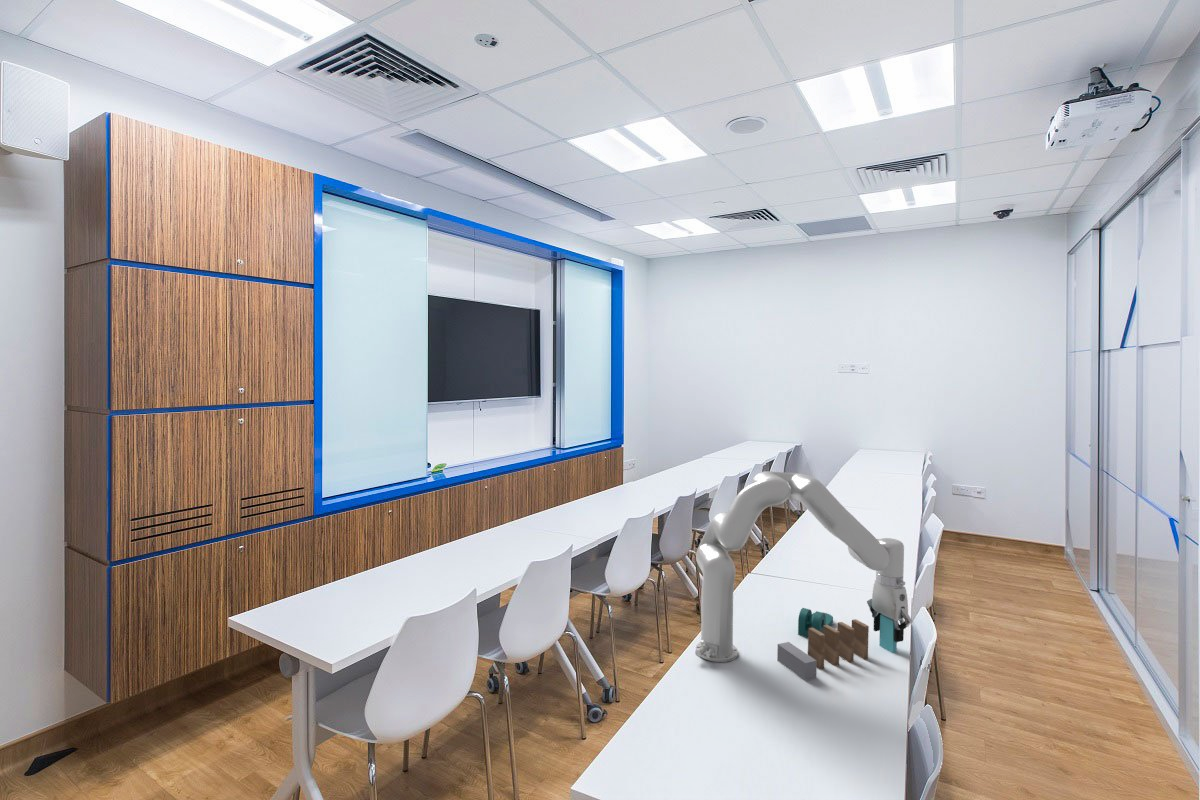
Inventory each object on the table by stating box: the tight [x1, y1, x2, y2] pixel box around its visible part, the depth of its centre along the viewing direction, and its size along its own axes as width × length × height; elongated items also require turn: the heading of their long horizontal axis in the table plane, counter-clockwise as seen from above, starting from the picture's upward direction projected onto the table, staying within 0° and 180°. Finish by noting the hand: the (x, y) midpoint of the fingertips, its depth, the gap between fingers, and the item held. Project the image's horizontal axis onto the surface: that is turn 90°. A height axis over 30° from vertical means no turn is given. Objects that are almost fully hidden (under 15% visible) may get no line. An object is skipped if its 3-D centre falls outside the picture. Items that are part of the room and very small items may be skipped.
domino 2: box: [823, 625, 840, 667], centre depth 171 cm, size 2×5×10 cm, turn 20°
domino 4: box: [851, 619, 870, 660], centre depth 175 cm, size 2×5×10 cm, turn 21°
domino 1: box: [807, 628, 825, 670], centre depth 169 cm, size 2×5×10 cm, turn 21°
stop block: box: [776, 641, 818, 681], centre depth 167 cm, size 4×12×5 cm, turn 20°
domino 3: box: [836, 621, 855, 663], centre depth 173 cm, size 2×5×10 cm, turn 20°
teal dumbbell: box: [797, 607, 834, 638], centre depth 194 cm, size 18×7×8 cm, turn 142°
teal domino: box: [878, 614, 898, 654], centre depth 179 cm, size 2×5×10 cm, turn 20°
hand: (888, 635), depth 179 cm, fingers open, 7 cm apart
